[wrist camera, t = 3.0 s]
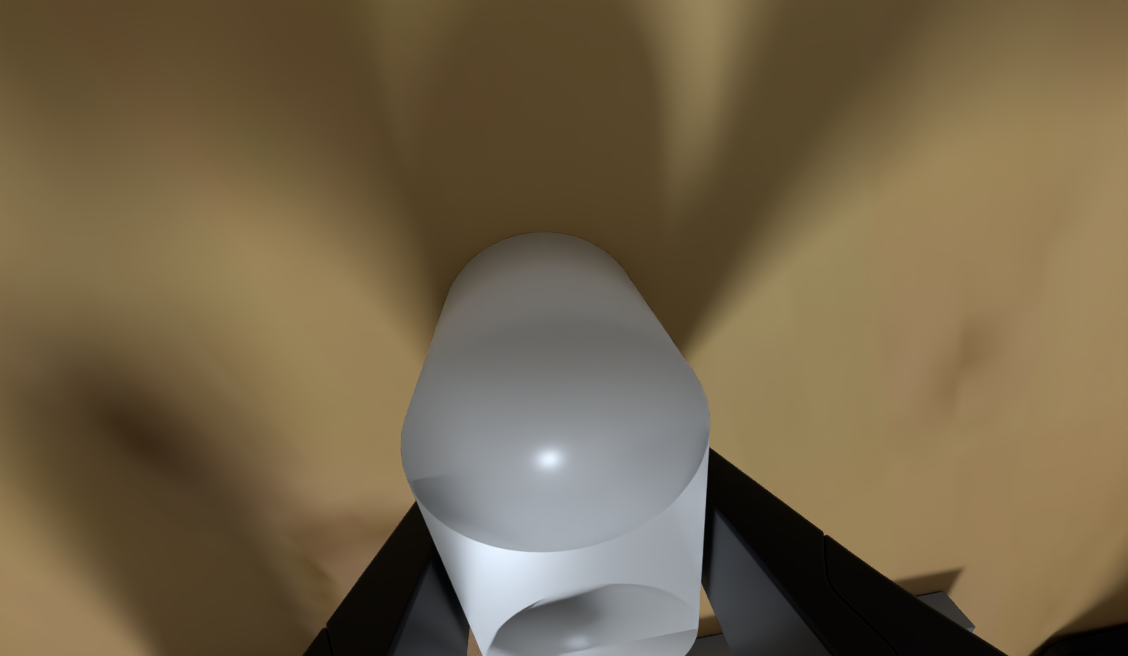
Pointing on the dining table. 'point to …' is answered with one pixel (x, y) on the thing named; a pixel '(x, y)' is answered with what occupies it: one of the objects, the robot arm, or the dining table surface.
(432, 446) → the grey rounded piece
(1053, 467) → the dining table surface
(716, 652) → the slate board
